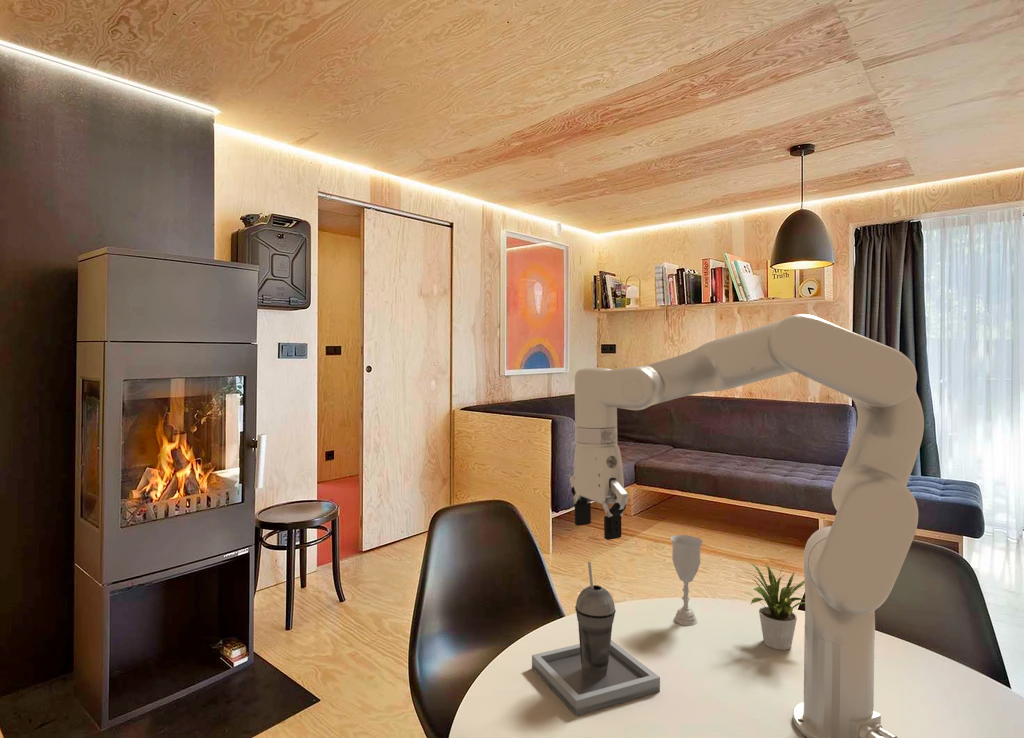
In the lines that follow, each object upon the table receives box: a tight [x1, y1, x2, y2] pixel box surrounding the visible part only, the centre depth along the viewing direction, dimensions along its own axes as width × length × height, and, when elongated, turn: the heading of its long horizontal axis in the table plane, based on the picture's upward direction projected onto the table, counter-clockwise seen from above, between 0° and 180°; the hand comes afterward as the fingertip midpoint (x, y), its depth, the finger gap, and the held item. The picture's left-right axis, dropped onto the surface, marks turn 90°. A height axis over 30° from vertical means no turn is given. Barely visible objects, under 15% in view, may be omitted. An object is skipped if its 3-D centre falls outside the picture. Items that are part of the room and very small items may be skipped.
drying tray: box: [531, 639, 661, 717], centre depth 105 cm, size 16×17×2 cm
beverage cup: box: [574, 561, 616, 679], centre depth 104 cm, size 7×7×20 cm
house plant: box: [741, 560, 805, 651], centre depth 119 cm, size 14×14×16 cm
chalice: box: [670, 534, 704, 626], centre depth 129 cm, size 7×7×18 cm
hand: (597, 531), depth 104 cm, fingers open, 9 cm apart
